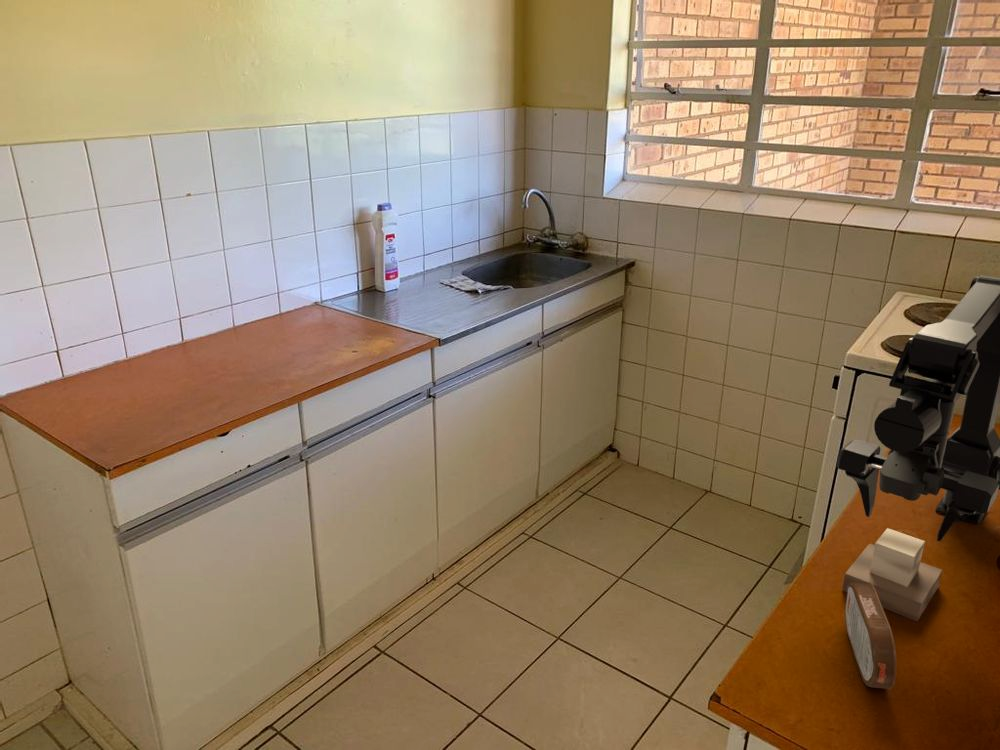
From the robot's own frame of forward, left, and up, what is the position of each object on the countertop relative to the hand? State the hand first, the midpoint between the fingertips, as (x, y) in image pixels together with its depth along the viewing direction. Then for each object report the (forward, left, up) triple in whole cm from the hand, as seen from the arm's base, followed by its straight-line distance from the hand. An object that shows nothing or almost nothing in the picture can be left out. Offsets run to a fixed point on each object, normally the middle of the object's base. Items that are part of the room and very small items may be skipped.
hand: (902, 527), depth 105 cm
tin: (+17, +2, -11) cm, 20 cm away
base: (0, 0, -11) cm, 11 cm away
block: (0, 0, -8) cm, 8 cm away
